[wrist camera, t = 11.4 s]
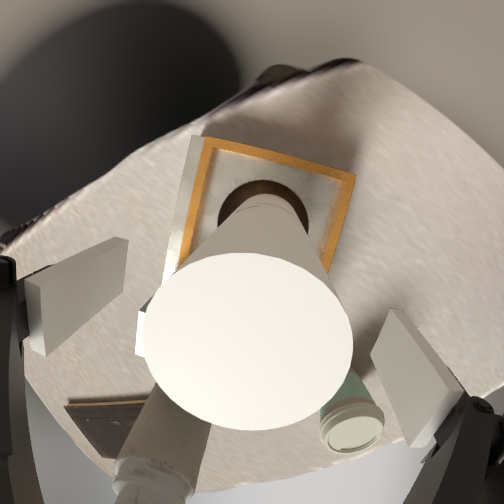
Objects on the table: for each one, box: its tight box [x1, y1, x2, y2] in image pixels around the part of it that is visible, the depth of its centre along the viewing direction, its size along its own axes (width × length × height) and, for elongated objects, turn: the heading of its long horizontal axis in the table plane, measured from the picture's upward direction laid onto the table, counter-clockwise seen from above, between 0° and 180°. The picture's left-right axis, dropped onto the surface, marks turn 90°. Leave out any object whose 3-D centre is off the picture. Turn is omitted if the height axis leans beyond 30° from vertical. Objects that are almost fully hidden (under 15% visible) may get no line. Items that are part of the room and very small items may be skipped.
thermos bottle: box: [112, 382, 212, 504], centre depth 30 cm, size 8×8×28 cm
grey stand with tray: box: [135, 135, 357, 357], centre depth 30 cm, size 18×22×18 cm
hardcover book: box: [63, 399, 147, 459], centre depth 49 cm, size 16×23×2 cm
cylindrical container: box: [142, 194, 353, 430], centre depth 22 cm, size 7×7×25 cm
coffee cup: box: [318, 367, 385, 455], centre depth 37 cm, size 9×9×12 cm
